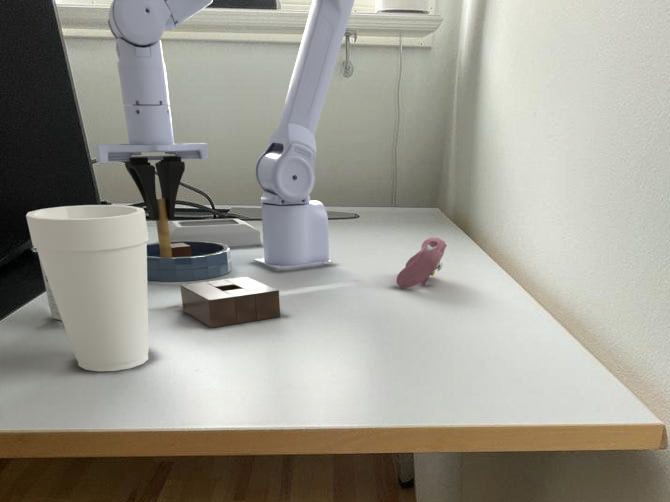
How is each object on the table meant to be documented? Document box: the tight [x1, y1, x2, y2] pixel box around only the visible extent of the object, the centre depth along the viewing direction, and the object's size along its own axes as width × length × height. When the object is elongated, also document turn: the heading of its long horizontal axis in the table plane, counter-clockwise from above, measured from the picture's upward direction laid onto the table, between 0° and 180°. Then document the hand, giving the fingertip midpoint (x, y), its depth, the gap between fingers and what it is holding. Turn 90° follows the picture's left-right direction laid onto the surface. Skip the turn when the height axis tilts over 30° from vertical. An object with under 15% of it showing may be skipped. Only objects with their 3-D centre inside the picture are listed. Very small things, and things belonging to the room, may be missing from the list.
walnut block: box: [171, 243, 192, 257], centre depth 96 cm, size 3×3×3 cm
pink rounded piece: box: [395, 237, 448, 289], centre depth 90 cm, size 10×5×7 cm, turn 168°
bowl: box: [147, 241, 233, 282], centre depth 94 cm, size 14×14×4 cm
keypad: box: [168, 218, 262, 247], centre depth 114 cm, size 10×4×15 cm
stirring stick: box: [155, 197, 172, 257], centre depth 92 cm, size 2×2×8 cm
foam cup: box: [25, 204, 150, 373], centre depth 59 cm, size 10×9×13 cm
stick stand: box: [179, 276, 281, 329], centre depth 76 cm, size 8×8×3 cm
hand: (161, 218), depth 91 cm, fingers closed on stirring stick, 1 cm apart
